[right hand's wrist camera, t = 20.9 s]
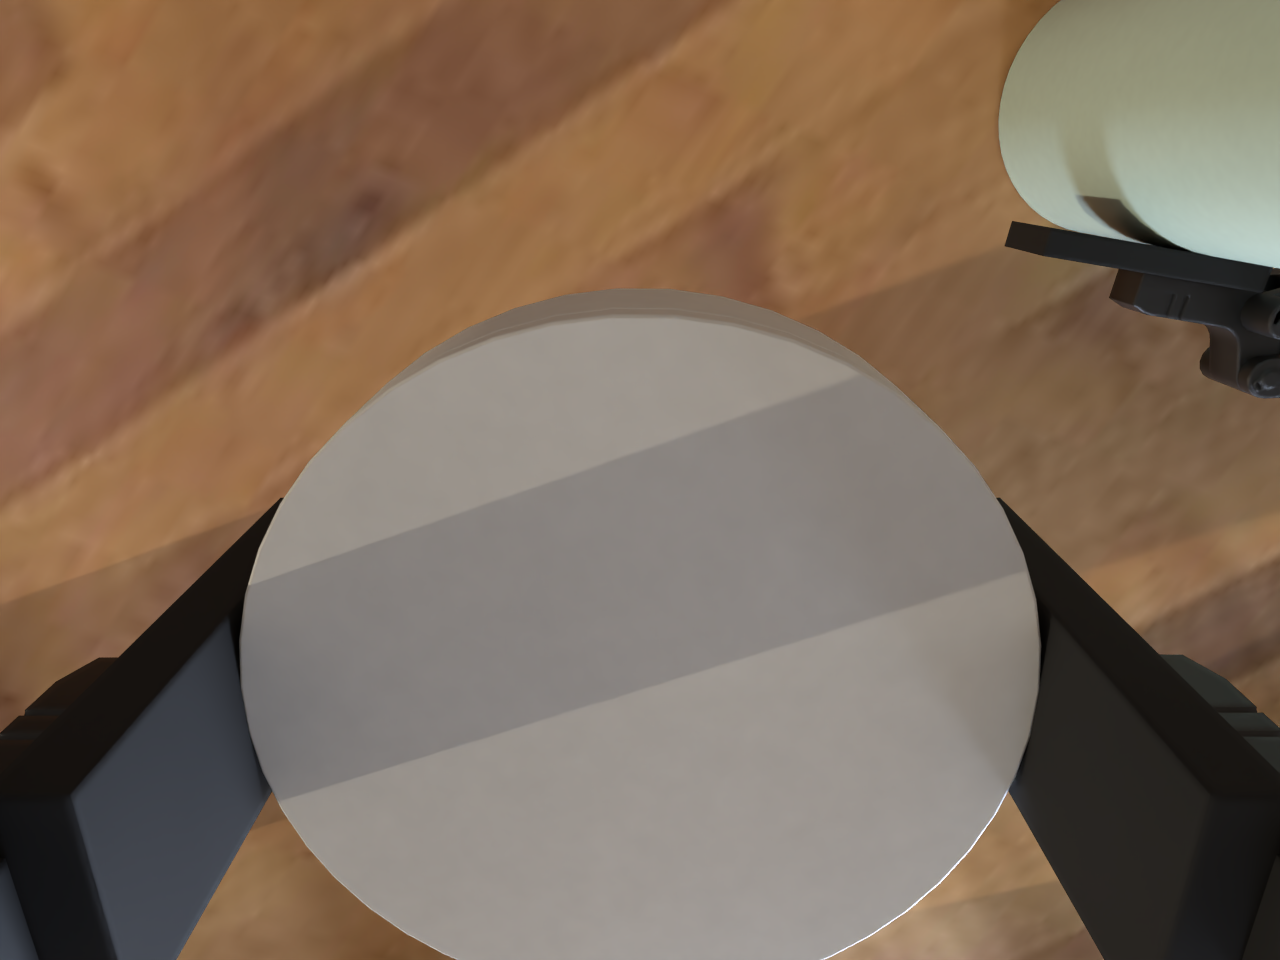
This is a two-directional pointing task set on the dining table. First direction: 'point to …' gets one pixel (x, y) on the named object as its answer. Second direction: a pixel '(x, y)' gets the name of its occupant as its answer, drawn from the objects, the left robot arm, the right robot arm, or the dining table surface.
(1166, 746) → the right robot arm
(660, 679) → the lid
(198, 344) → the dining table surface
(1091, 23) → the jar
